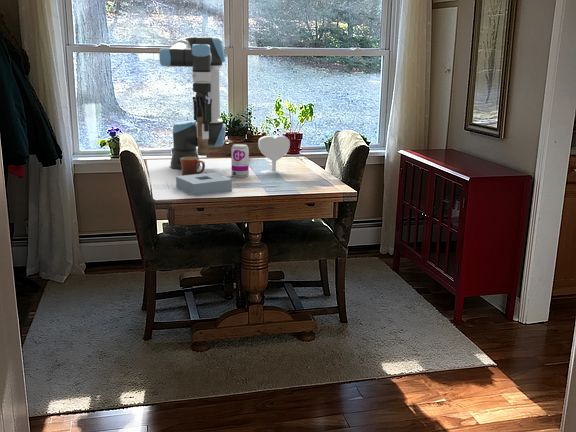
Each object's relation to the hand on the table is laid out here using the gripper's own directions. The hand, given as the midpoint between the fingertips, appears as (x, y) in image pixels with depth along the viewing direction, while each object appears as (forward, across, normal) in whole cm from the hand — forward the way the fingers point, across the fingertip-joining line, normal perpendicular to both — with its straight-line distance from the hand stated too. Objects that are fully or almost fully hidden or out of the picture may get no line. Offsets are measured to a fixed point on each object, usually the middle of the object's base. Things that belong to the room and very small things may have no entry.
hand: (202, 138), depth 263 cm
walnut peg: (+7, 0, 0) cm, 7 cm away
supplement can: (+23, -17, +28) cm, 40 cm away
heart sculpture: (+23, -18, +48) cm, 56 cm away
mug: (+23, -19, +4) cm, 30 cm away
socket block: (+22, 0, 0) cm, 22 cm away
